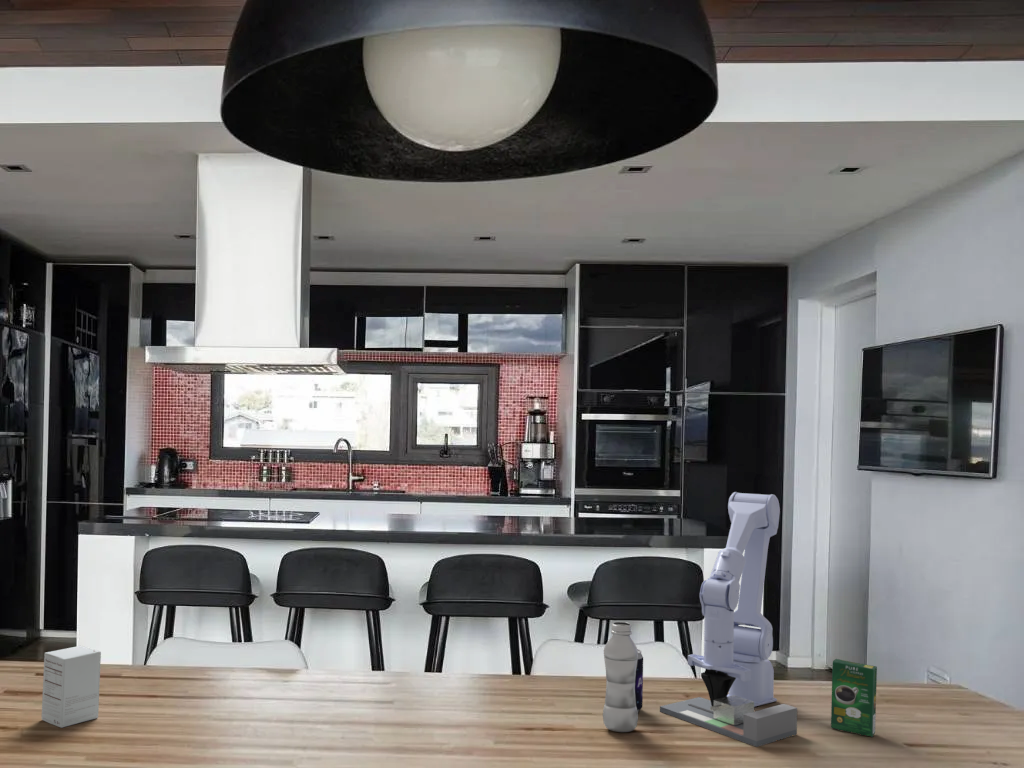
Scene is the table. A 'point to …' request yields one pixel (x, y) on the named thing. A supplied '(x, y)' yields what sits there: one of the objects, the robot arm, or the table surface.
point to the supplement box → (71, 686)
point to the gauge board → (753, 731)
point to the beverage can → (639, 681)
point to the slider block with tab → (732, 709)
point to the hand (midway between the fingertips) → (718, 709)
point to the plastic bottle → (620, 680)
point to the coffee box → (853, 697)
